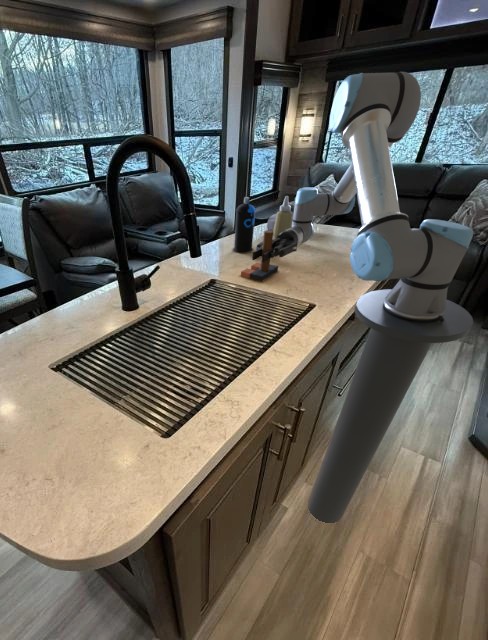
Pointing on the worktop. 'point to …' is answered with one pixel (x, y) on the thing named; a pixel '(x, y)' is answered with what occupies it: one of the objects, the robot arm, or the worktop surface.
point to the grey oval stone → (273, 222)
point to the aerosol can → (244, 227)
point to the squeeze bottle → (283, 218)
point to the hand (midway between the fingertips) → (258, 257)
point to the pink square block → (256, 266)
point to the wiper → (265, 267)
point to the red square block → (246, 273)
